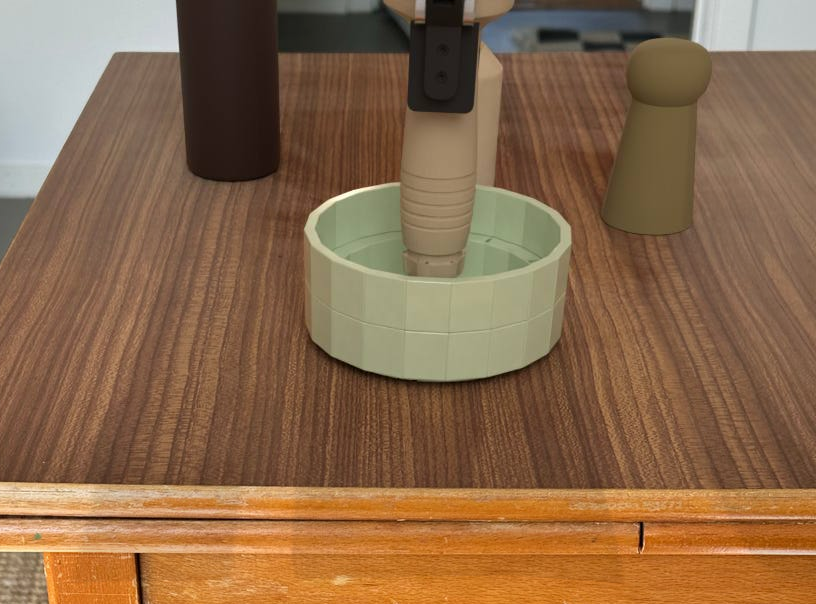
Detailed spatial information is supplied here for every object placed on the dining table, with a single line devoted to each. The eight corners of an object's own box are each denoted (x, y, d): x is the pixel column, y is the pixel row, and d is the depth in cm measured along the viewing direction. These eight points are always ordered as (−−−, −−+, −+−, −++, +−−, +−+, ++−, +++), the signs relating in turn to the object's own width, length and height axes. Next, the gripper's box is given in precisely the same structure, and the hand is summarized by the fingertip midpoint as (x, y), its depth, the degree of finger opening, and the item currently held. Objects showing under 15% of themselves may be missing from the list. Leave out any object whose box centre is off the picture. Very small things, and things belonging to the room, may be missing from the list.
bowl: (558, 286, 79) (569, 186, 76) (560, 399, 68) (573, 289, 65) (323, 273, 81) (323, 175, 77) (288, 382, 70) (286, 273, 66)
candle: (415, 212, 88) (422, 54, 82) (409, 183, 93) (415, 31, 87) (497, 211, 89) (510, 54, 82) (487, 182, 93) (499, 30, 87)
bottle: (177, 156, 97) (154, -160, 85) (266, 146, 99) (257, -164, 86) (199, 187, 92) (178, -143, 79) (292, 177, 94) (286, -148, 81)
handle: (396, 249, 75) (407, -42, 66) (503, 269, 73) (529, -28, 64) (361, 280, 72) (367, -21, 62) (472, 302, 70) (495, -6, 60)
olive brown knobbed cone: (583, 207, 89) (605, 34, 82) (660, 196, 91) (687, 25, 84) (630, 240, 85) (657, 59, 78) (710, 227, 87) (743, 49, 80)
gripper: (561, -353, 48) (516, 152, 59) (557, -366, 61) (521, 49, 73) (356, -355, 49) (350, 145, 60) (396, -368, 62) (385, 44, 73)
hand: (444, 88), depth 66 cm, fingers closed on handle, 5 cm apart
